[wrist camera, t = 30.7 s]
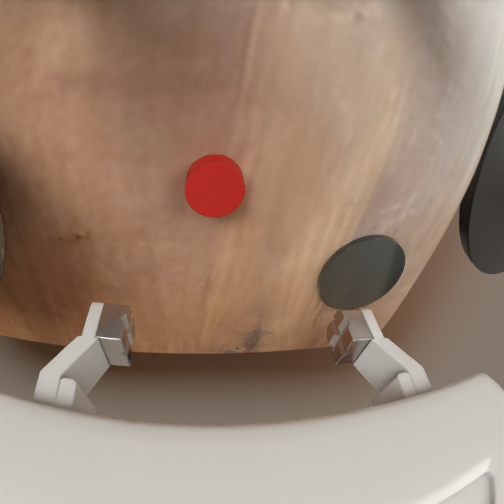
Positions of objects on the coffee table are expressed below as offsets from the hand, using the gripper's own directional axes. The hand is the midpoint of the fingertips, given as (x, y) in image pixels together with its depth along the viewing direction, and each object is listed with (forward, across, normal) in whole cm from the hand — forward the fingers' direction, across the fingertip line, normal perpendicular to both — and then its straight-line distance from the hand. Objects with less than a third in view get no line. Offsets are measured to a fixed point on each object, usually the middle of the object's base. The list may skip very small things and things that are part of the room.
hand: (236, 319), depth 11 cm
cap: (+11, +1, 0) cm, 11 cm away
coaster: (+13, -15, +9) cm, 22 cm away
